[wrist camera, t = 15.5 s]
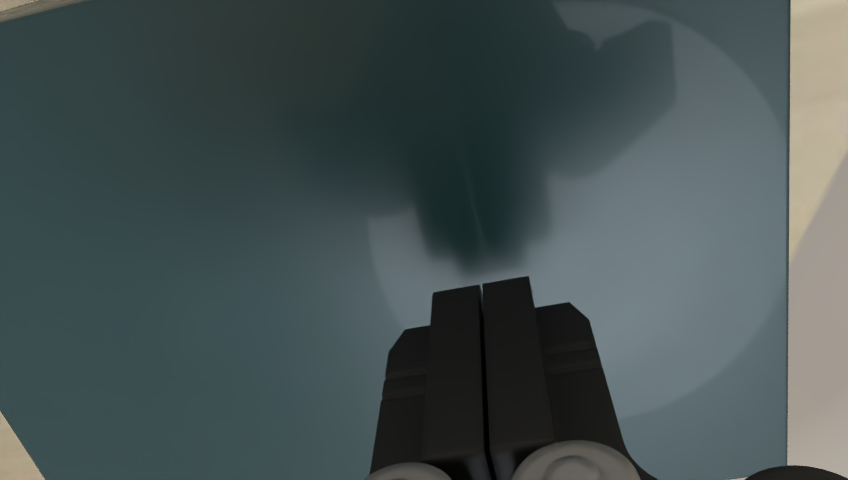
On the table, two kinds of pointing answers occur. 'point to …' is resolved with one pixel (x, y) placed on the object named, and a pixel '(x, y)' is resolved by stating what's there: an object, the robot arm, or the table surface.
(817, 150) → the table surface
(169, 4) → the lid
